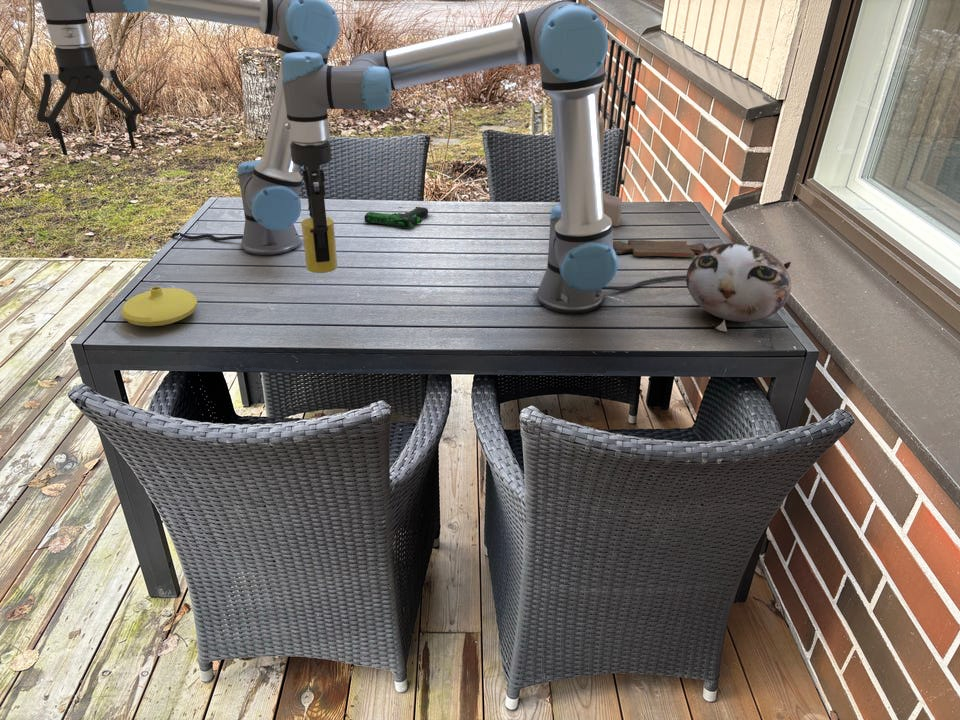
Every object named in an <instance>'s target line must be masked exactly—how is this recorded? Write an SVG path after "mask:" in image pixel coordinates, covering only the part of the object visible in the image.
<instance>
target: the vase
mask: <svg viewBox="0 0 960 720" xmlns="http://www.w3.org/2000/svg"><path fill="white" fill-rule="evenodd" d="M197 303H198V298H197V297H196V295H194V294H193V293H192V292H190V291H189V290H185V289H183V288H175V287H171V288H170V287H168V288H167V287H165V288H162V287H161V286H152V287H150V288H149V290H147V291H144V292H140V293H137V294H136V295H134V296H132V297H130V298H128V299H127V300H126V301H125V302H124V304H123V305H122V307H121V309H120V313H121V316H122V317H123V319H124V320H125V321H126V322H128V323H130V324H132V325H135V326H140V327H141V326H142V327H162V326H167V325H171V324H174V323H177V322H179V321H181V320H183V319H185V318H187V317H189V316H190V315H192V314H193V313H194V312H195V311H196V309H197V306H198V304H197Z"/></svg>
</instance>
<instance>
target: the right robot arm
mask: <svg viewBox="0 0 960 720" xmlns="http://www.w3.org/2000/svg"><path fill="white" fill-rule="evenodd" d="M608 48H609V37H608V32H607V28H606V26H605V24H604V22H603V20H602V18H601V17H600V15H598V14H597V12H595V11H594V10H593V9H591V8H590V7H588V6H586V5H584V4H580V3H579V2H576V1H574V0H556V1H553V2H550V3H547V4H545V5H543V6H540V7H536V8H534V9H533V8H532V9H531V10H526V11H523V12H519V13H516V14H514V16H513V18H512V19H511V20H510V21H505V22H502V23H497V24H493V25H489V26H485V27H480V28H475V29H472V30H467V31H463V32H458V33H455V34H450V35H446V36H441V37H437V38H433V39H429V40H424V41H421V42H415V43H411V44H407V45H402V46H398V47H394V48H390V49H386V50H384V51H383V50H381V51H377V52H373V53H372V52H371V53H370V52H363V53H359V54H357V55H356V56H355V57H353V58H352V59H351V61H350V62H349V64H348V65H329V64H327V65H324V62H323V58H322V56H321V55H320V54H318V53H311V52H294V53H288V54H286V55H284V56H283V58H282V60H281V59H280V64H281V63H282V83H283V90H284V97H285V105H286V112H287V119H288V123H289V124H285V129H289V138H290V140H291V141H293V142H291V144H290V149H291V158H292V162H293V163H295V164H297V165H299V167H302V166H303V169H302V170H301V172H302V173H301V174H302V178H303V182H304V188H305V191H306V196H307V204H308V208H307V209H308V211H309V218H311V217H312V219H313V227H314V228H313V229H312V230H310V233H313V236H314V245H315V255H316V262H326V261H330V255H329V245H328V234H327V231H328V227H327V221H326V217H327V212H326V201H325V194H326V189H325V182H326V179H325V178H326V177H325V172H324V170H323V168H320V167H321V166H322V165H327V164H329V163H330V162H331V161H332V148H331V142H330V141H329V140H330V138H331V134H330V123H329V113H328V110H358V111H359V110H361V111H365V110H366V111H371V112H372V111H376V110H377V111H379V110H388V109H389V108H390V107H391V106H392V105H391V104H392V91H397V90H401V89H405V88H411V87H415V86H419V85H424V84H429V83H432V82H436V81H440V80H445V79H451V78H455V77H459V76H463V75H468V74H472V73H476V72H477V73H478V72H481V71H487V70H490V69H495V68H500V67H503V66H509V65H513V64H517V63H518V64H520V65H522V66H523V67H528V66H534V65H539V68H540V69H539V71H540V81H541V82H540V83H541V90H542V91H543V92H544V93H545V94H546V95H547V96H549V97H550V101H551V112H552V114H551V115H552V121H553V122H552V124H553V125H552V126H553V135H554V149H555V160H556V170H557V183H558V193H559V194H558V195H559V204H557V205H554V206H553V208H552V209H551V211H550V212H551V213H550V217H549V221H550V224H549V236H548V237H549V239H548V249H547V250H548V252H547V266H546V270H545V272H544V275H543V277H542V279H541V281H540V284H539V287H538V289H537V301H538V302H539V304H540V305H542V306H543V307H544V308H547V309H549V310H551V311H554V312H558V313H562V314H572V315H573V314H585V313H590V312H593V311H595V310H597V309H599V308H600V307H601V305H602V303H603V295H604V294H603V290H607V291H608V290H611V291H620V292H621V291H629V290H631V289H635V288H636V287H637V288H638V287H639V286H642V285H645V284H648V283H655V282H660V281H668V280H678V279H679V280H680V279H686V277H687V274H685V275H670V276H663V277H662V276H661V277H656V278H649V279H645V280H642V281H640V282H637V283H634V284H632V285H629V286H625V287H617V286H608V284H610V283H611V282H612V281H613V279H614V278H615V277H616V274H617V273H618V272H617V271H618V269H619V258H618V254H616V252H615V250H614V249H613V242H614V237H613V226H612V220H611V219H610V218H609V217H608V216H607V215H605V214H604V207H603V192H604V191H603V174H602V173H603V171H602V153H601V152H600V134H599V117H600V115H599V99H598V92H599V90H600V88H601V87H602V86H603V85H604V84H605V82H606V73H605V72H606V71H605V60H606V57H607V53H608Z"/></svg>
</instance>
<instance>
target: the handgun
mask: <svg viewBox="0 0 960 720" xmlns="http://www.w3.org/2000/svg"><path fill="white" fill-rule="evenodd" d="M428 215H429V209H428V208H426V207H421V206H416V207H415V208H414V209H412V210H410V211H409V212H407V211H406V212H404V213H401V212H398V213H396V212H395V213H381V212H375V211H374V212H373V211H369V212H366V213H365V215H364V217H363V219H364V222H365V223H373V224H380V225H387V226H394V227H400V228H401V229H409V230H410V229H412V228H413V227H415V226H416V225H420V224H421V223H422V222H423V220H422V219H425V218H427V217H428Z"/></svg>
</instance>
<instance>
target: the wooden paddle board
mask: <svg viewBox="0 0 960 720" xmlns="http://www.w3.org/2000/svg"><path fill="white" fill-rule="evenodd" d="M687 242H688V241H686V240H646V239H645V240H643V239H640V240H639V239H629V240H627V243H626V242H623V241H621V240H613V249H614V250H615V252H616V254H617V255H623V254H628V253H632V255H633V257H677V258H678V257H679V258H693V257H695V255H696V254H698V255H699V254H700V253H702V252H703V247H704V246H705V245H706V244H705V243H703V242H700V243H694V244H687ZM705 247H706V246H705Z"/></svg>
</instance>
